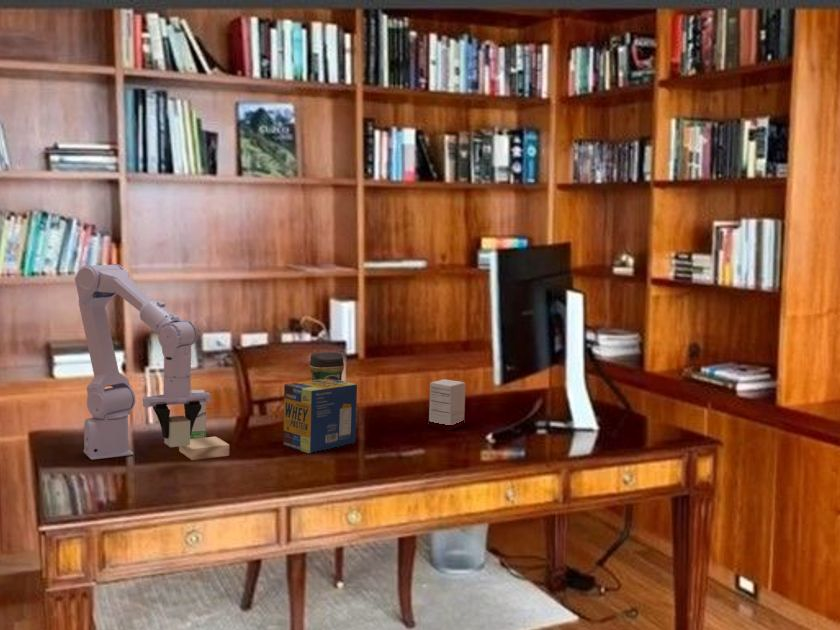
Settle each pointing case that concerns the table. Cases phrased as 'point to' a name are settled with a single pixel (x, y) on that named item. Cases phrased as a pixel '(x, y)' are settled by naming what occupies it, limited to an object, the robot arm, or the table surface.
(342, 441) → the protein box
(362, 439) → the table surface
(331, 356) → the coffee jar
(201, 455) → the maple block
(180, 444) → the sage box
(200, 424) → the ink box
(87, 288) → the robot arm
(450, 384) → the supplement box
